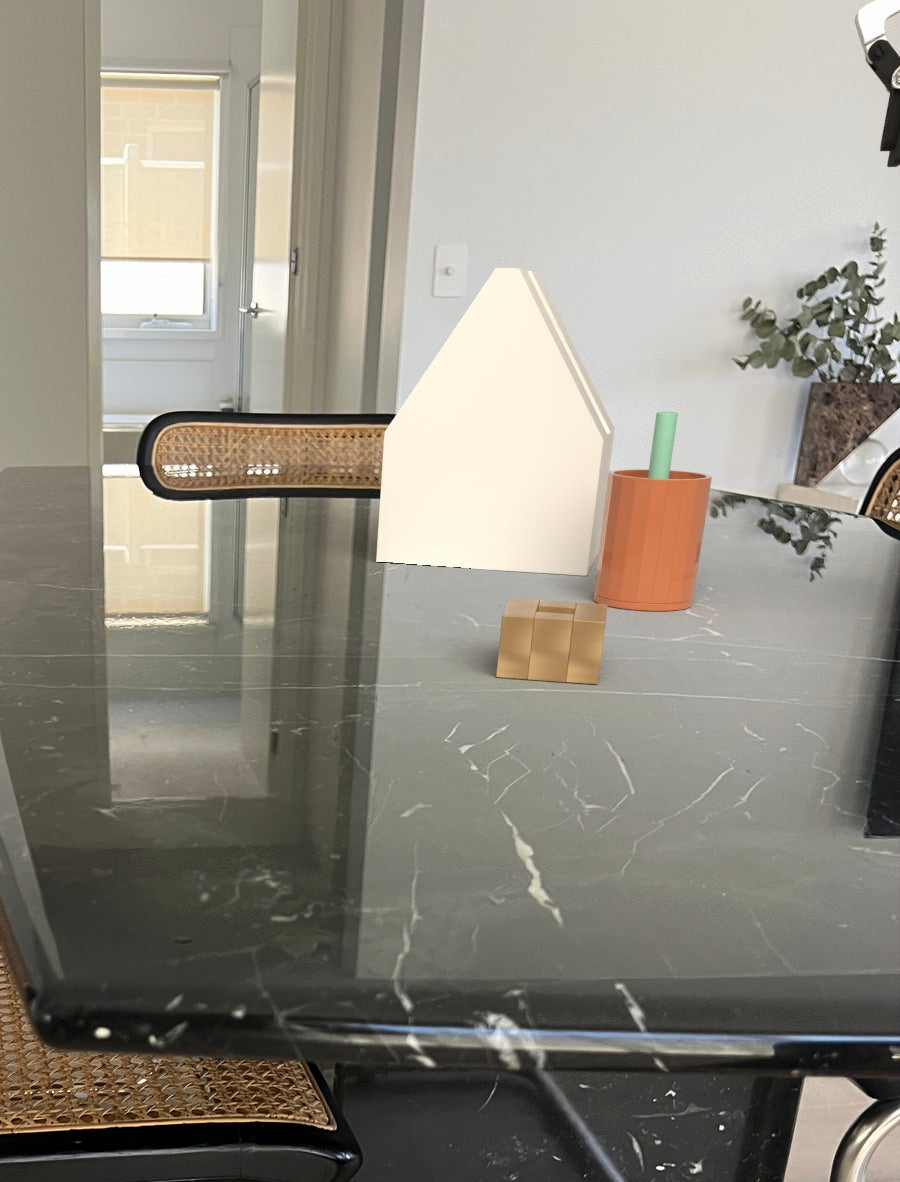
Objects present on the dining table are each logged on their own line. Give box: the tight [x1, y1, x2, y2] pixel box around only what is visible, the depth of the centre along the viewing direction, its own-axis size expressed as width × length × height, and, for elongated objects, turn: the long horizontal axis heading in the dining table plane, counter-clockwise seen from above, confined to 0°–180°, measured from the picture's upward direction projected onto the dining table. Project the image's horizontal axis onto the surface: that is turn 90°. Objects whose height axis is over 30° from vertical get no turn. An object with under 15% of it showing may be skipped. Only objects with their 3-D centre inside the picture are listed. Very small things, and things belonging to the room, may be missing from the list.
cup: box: [592, 468, 713, 612], centre depth 118 cm, size 8×8×10 cm
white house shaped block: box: [375, 267, 616, 577], centre depth 136 cm, size 19×15×25 cm
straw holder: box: [495, 597, 608, 685], centre depth 96 cm, size 6×6×4 cm
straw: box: [648, 411, 679, 479], centre depth 117 cm, size 2×2×14 cm
